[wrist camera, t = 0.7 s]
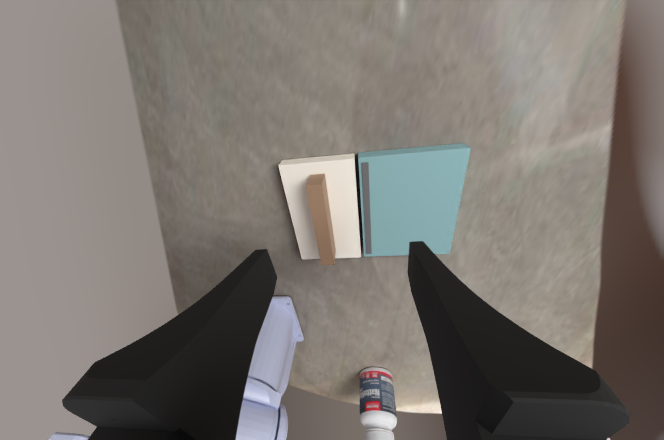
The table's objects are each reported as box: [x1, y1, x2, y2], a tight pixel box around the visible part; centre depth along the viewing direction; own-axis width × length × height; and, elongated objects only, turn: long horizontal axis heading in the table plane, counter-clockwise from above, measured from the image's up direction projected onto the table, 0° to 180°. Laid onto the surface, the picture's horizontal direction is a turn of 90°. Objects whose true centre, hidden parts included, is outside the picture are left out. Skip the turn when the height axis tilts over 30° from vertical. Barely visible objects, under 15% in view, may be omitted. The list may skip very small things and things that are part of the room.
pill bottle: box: [360, 367, 397, 440], centre depth 35 cm, size 5×5×9 cm
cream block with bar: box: [278, 154, 361, 265], centre depth 21 cm, size 10×6×3 cm, turn 7°
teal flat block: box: [358, 143, 471, 257], centre depth 20 cm, size 10×8×1 cm
